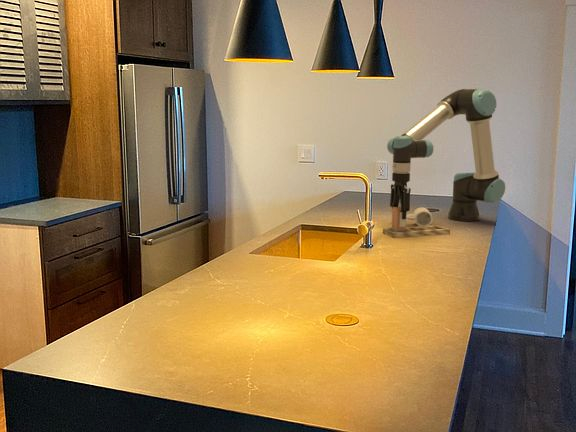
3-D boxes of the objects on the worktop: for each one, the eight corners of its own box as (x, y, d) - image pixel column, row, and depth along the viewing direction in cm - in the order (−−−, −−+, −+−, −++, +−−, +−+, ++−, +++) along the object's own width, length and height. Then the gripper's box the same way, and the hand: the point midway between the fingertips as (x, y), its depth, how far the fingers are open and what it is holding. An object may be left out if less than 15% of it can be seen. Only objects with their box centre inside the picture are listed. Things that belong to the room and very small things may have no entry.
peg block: (400, 233, 290) (401, 206, 287) (405, 235, 285) (406, 208, 283) (391, 233, 288) (392, 207, 286) (396, 236, 284) (397, 208, 282)
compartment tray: (437, 229, 299) (438, 224, 298) (450, 234, 290) (450, 229, 289) (382, 232, 290) (383, 228, 289) (393, 237, 281) (393, 232, 280)
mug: (429, 223, 312) (430, 207, 311) (432, 228, 302) (433, 211, 301) (404, 223, 313) (405, 206, 312) (405, 227, 304) (406, 210, 302)
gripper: (383, 170, 289) (381, 221, 294) (404, 175, 272) (401, 229, 276) (398, 169, 292) (396, 220, 296) (420, 174, 274) (417, 228, 278)
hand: (398, 224), depth 286 cm, fingers open, 6 cm apart
